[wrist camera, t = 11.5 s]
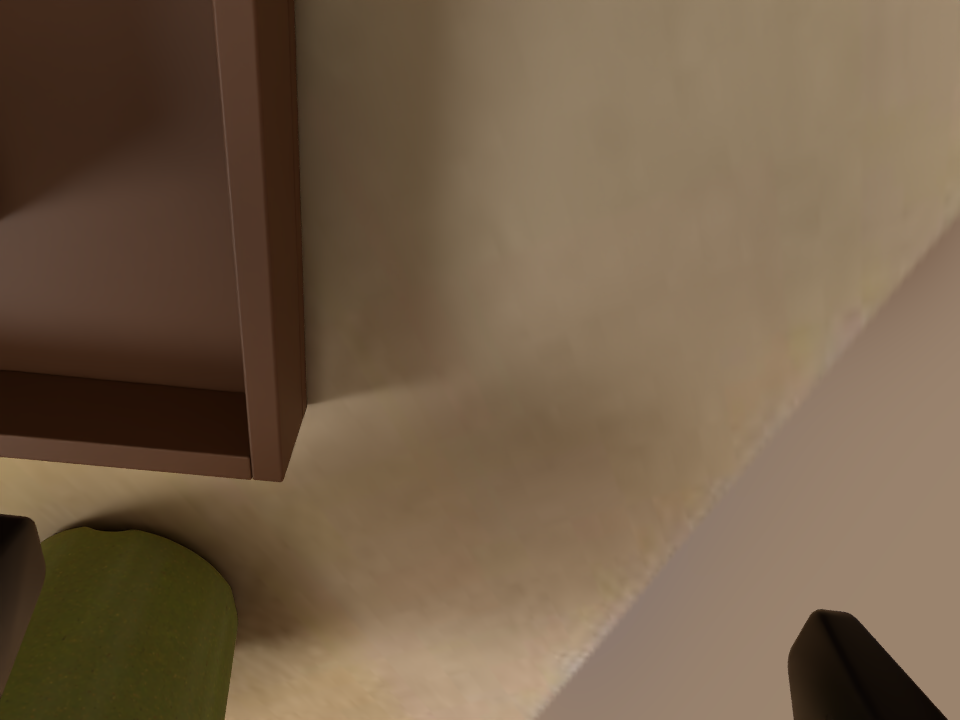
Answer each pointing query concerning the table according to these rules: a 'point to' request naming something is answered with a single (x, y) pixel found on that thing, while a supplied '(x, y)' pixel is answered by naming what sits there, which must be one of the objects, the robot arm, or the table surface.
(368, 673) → the table surface
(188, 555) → the plant pot
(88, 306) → the tray
